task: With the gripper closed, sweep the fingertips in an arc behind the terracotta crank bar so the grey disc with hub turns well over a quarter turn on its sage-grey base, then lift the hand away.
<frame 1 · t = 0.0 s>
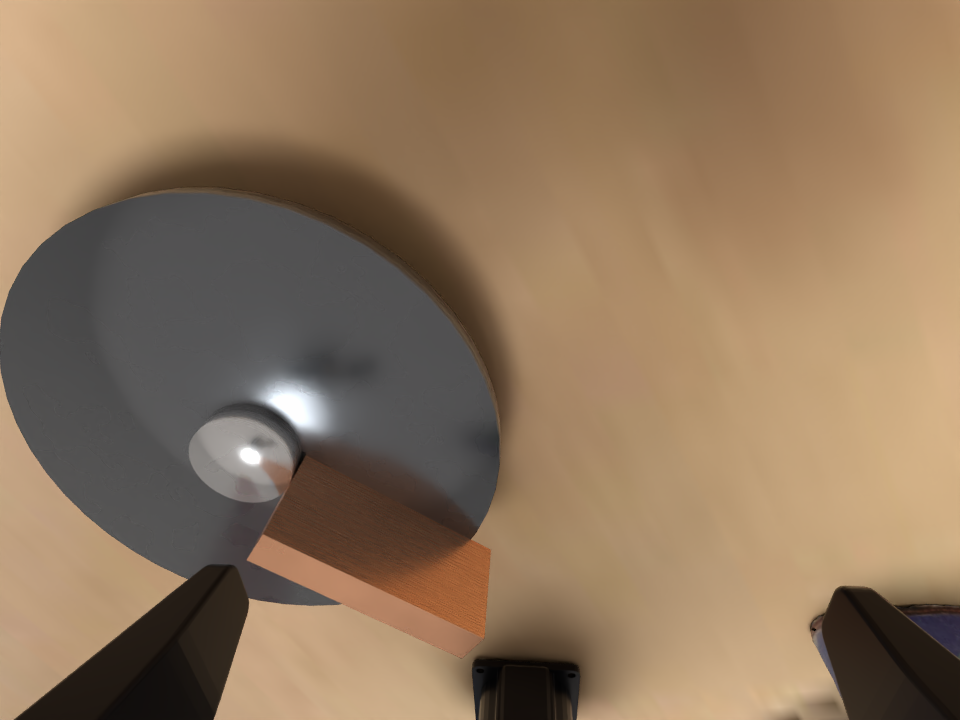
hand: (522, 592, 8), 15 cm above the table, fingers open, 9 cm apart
grey disc with hub: (247, 477, 21), point 5 cm above the table, hinge at 0.0°
flask: (898, 619, 30), on the table
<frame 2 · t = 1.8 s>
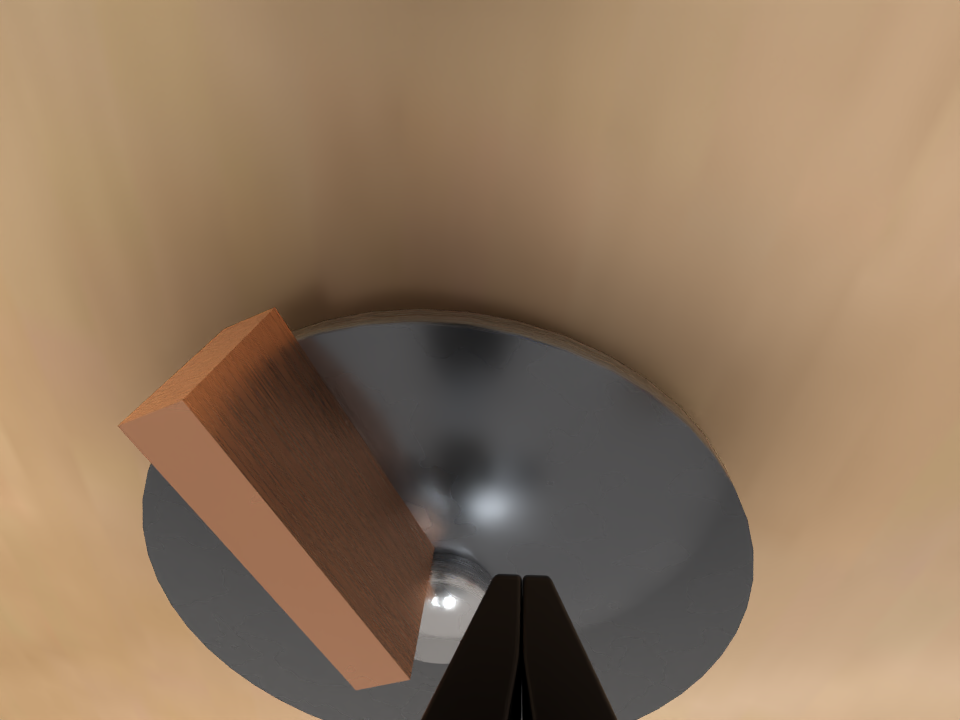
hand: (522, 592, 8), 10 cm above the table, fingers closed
grey disc with hub: (425, 627, 17), point 5 cm above the table, hinge at 0.0°
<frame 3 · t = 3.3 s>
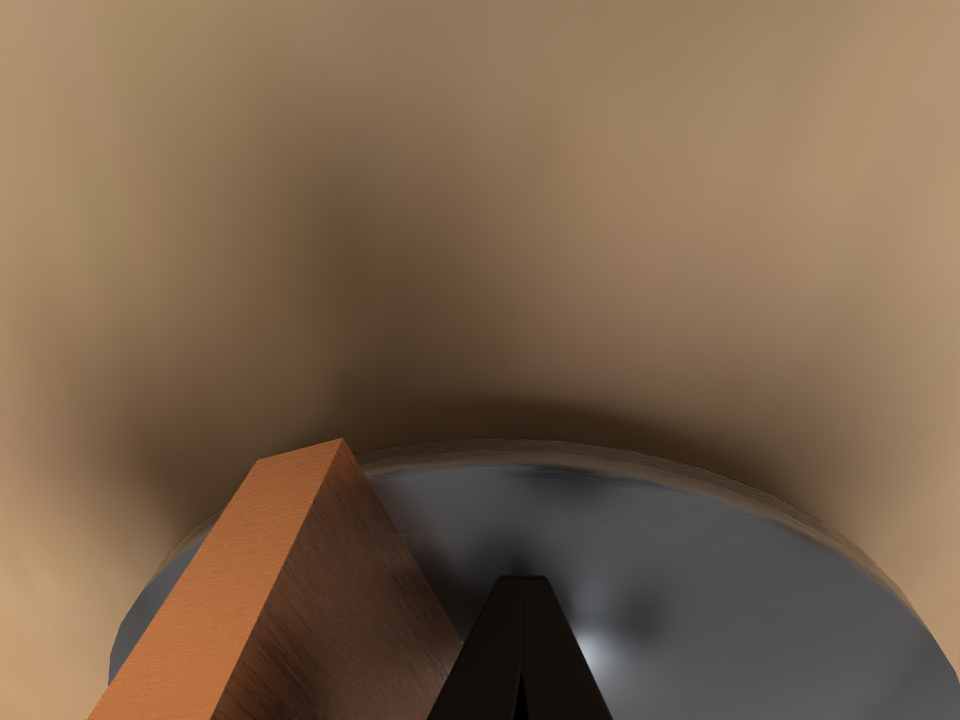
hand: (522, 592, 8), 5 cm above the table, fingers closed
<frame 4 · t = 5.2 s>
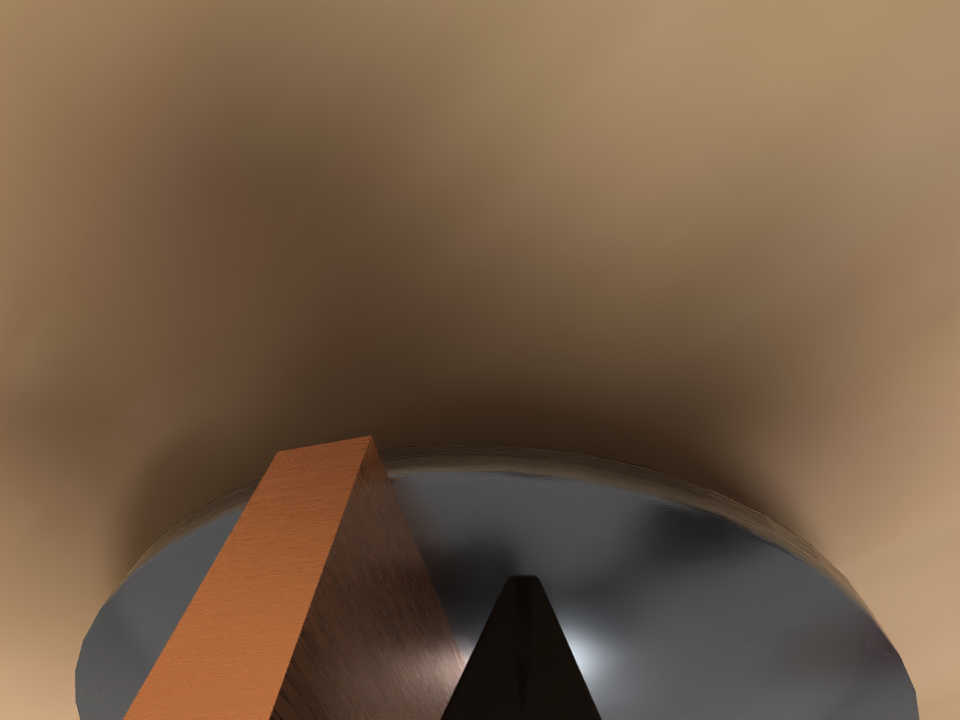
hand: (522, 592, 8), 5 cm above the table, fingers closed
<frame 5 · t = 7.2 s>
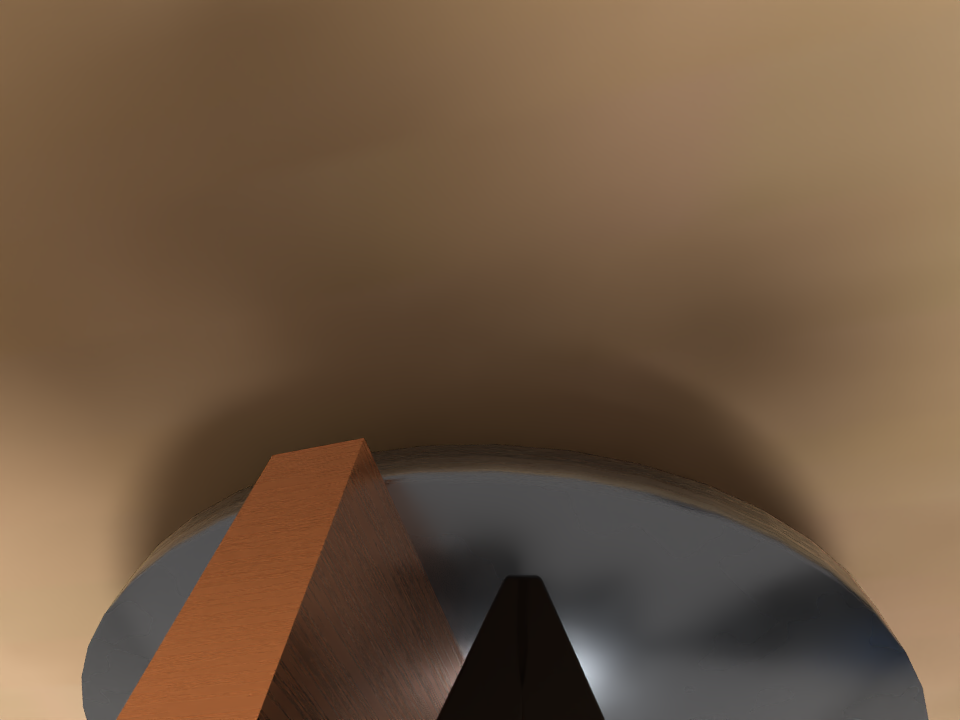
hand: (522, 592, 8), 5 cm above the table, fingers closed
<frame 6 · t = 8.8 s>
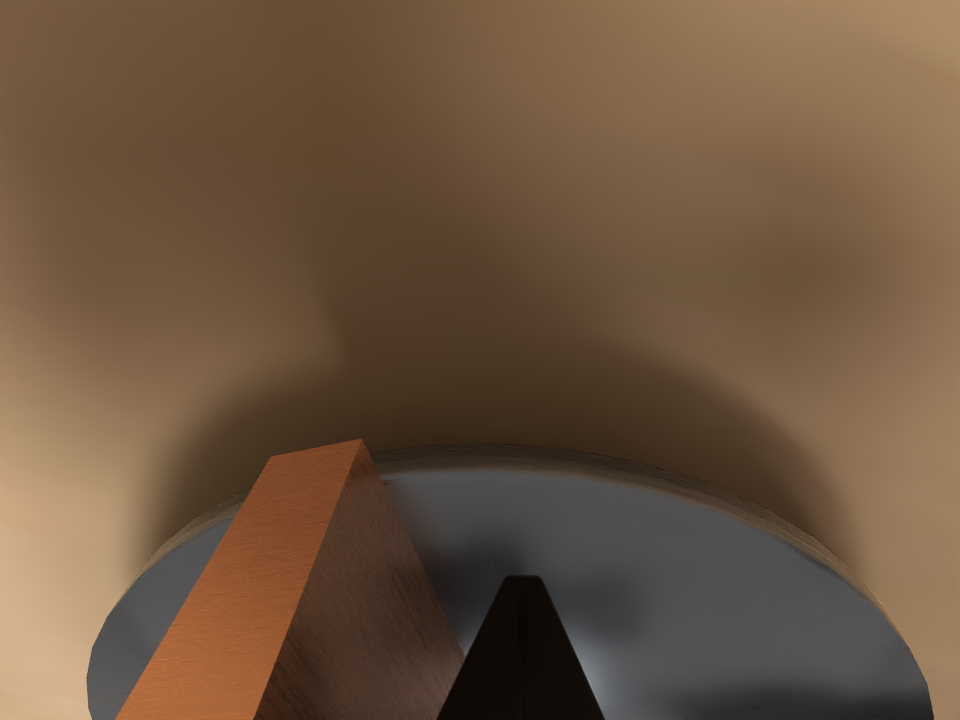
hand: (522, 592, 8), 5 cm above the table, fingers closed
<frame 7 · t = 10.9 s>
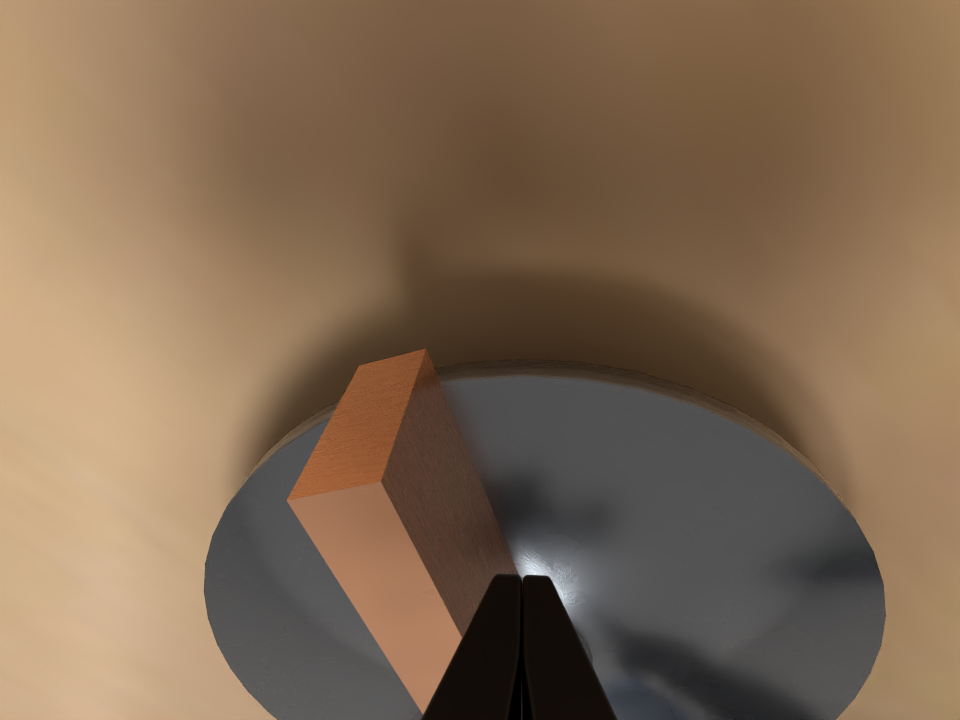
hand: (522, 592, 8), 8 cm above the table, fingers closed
grey disc with hub: (521, 702, 15), point 5 cm above the table, hinge at 125.5°
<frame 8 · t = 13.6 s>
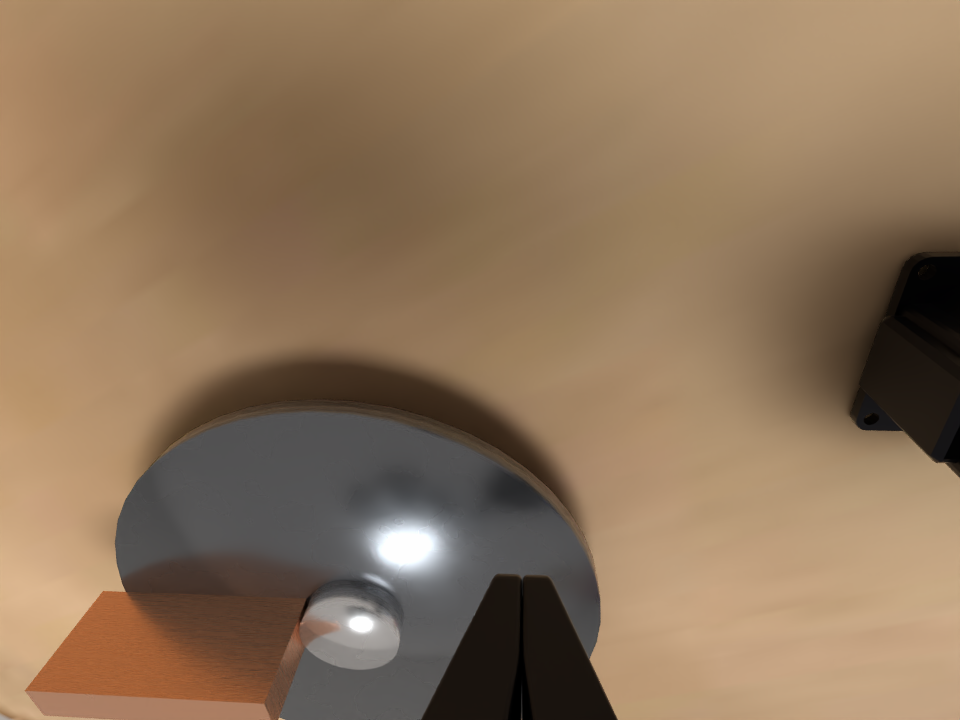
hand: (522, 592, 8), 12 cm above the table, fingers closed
grey disc with hub: (333, 648, 22), point 5 cm above the table, hinge at 125.5°
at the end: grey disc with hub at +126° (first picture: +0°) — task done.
